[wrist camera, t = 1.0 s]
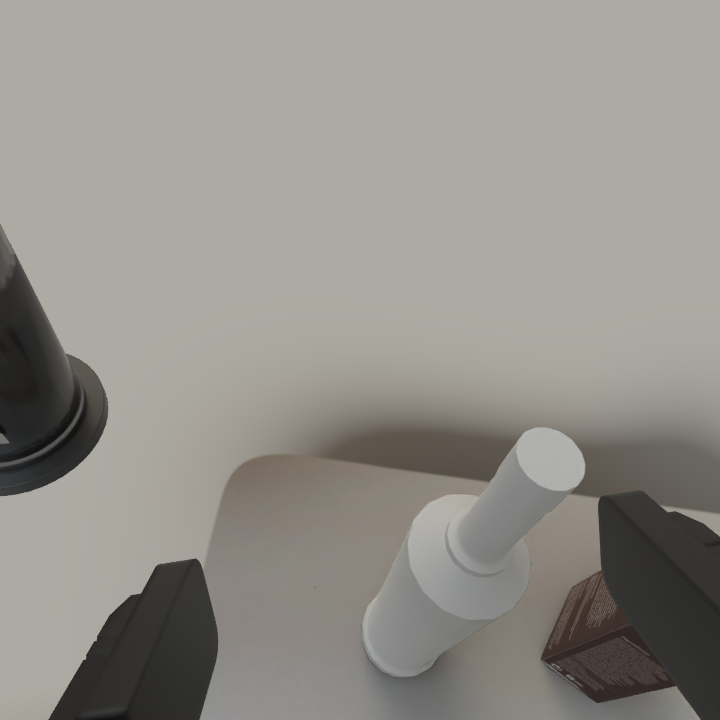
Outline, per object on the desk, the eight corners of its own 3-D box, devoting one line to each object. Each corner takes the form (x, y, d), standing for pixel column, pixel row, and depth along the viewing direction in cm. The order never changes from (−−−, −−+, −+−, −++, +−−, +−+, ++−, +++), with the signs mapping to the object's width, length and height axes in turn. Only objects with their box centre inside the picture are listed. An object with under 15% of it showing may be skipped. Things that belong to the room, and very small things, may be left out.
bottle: (364, 586, 37) (464, 371, 18) (439, 600, 37) (624, 400, 18) (353, 673, 34) (460, 528, 14) (435, 687, 34) (654, 563, 14)
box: (602, 708, 35) (725, 681, 25) (537, 659, 36) (632, 616, 26) (632, 625, 38) (751, 573, 28) (572, 583, 39) (667, 520, 30)
